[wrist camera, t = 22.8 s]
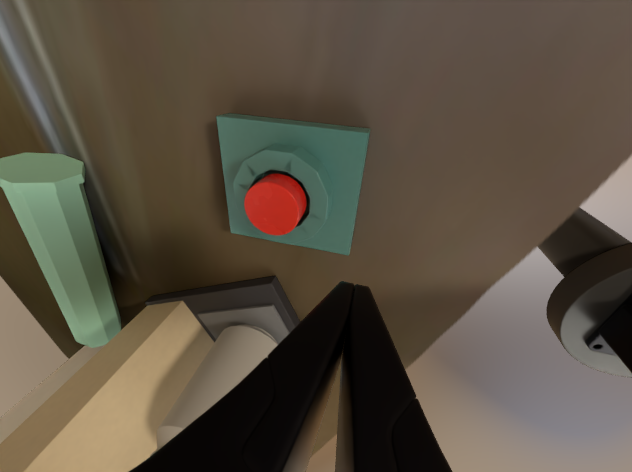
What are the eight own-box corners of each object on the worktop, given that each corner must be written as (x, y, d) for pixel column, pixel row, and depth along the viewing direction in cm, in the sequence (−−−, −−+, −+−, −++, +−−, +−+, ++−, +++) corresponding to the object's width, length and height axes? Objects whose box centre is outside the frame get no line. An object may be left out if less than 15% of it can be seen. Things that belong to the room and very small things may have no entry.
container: (85, 366, 33) (-2, 190, 18) (65, 335, 35) (-27, 156, 21) (136, 336, 37) (98, 176, 23) (116, 310, 39) (69, 149, 25)
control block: (370, 128, 17) (367, 139, 14) (351, 244, 22) (345, 270, 19) (228, 112, 18) (199, 119, 16) (240, 223, 23) (218, 244, 20)
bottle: (109, 371, 48) (-109, 599, 27) (78, 327, 41) (-236, 579, 21) (164, 386, 45) (-27, 649, 24) (141, 342, 39) (-143, 644, 18)
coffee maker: (275, 275, 25) (-177, 1060, 5) (326, 371, 32) (214, 900, 11) (150, 295, 32) (-257, 667, 12) (213, 371, 38) (15, 701, 18)
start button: (308, 177, 16) (300, 187, 15) (305, 227, 18) (298, 240, 17) (254, 169, 17) (241, 178, 15) (257, 218, 19) (245, 230, 17)
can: (295, 341, 27) (242, 491, 17) (273, 372, 32) (219, 507, 22) (232, 308, 27) (141, 442, 17) (217, 343, 31) (138, 468, 21)
